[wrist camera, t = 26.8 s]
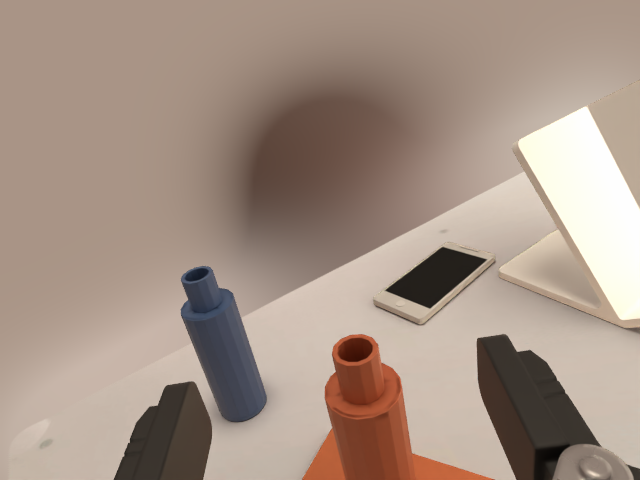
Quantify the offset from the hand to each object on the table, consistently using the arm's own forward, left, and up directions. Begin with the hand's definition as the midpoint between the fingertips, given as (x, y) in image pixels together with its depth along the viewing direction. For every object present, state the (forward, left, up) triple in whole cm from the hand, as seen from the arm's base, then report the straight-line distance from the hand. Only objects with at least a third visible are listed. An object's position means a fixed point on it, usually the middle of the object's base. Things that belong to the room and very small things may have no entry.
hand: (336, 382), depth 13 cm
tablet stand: (+49, -10, -24) cm, 55 cm away
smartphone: (+39, +10, -24) cm, 47 cm away
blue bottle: (+15, +22, -24) cm, 36 cm away
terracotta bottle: (+10, +5, -23) cm, 26 cm away
